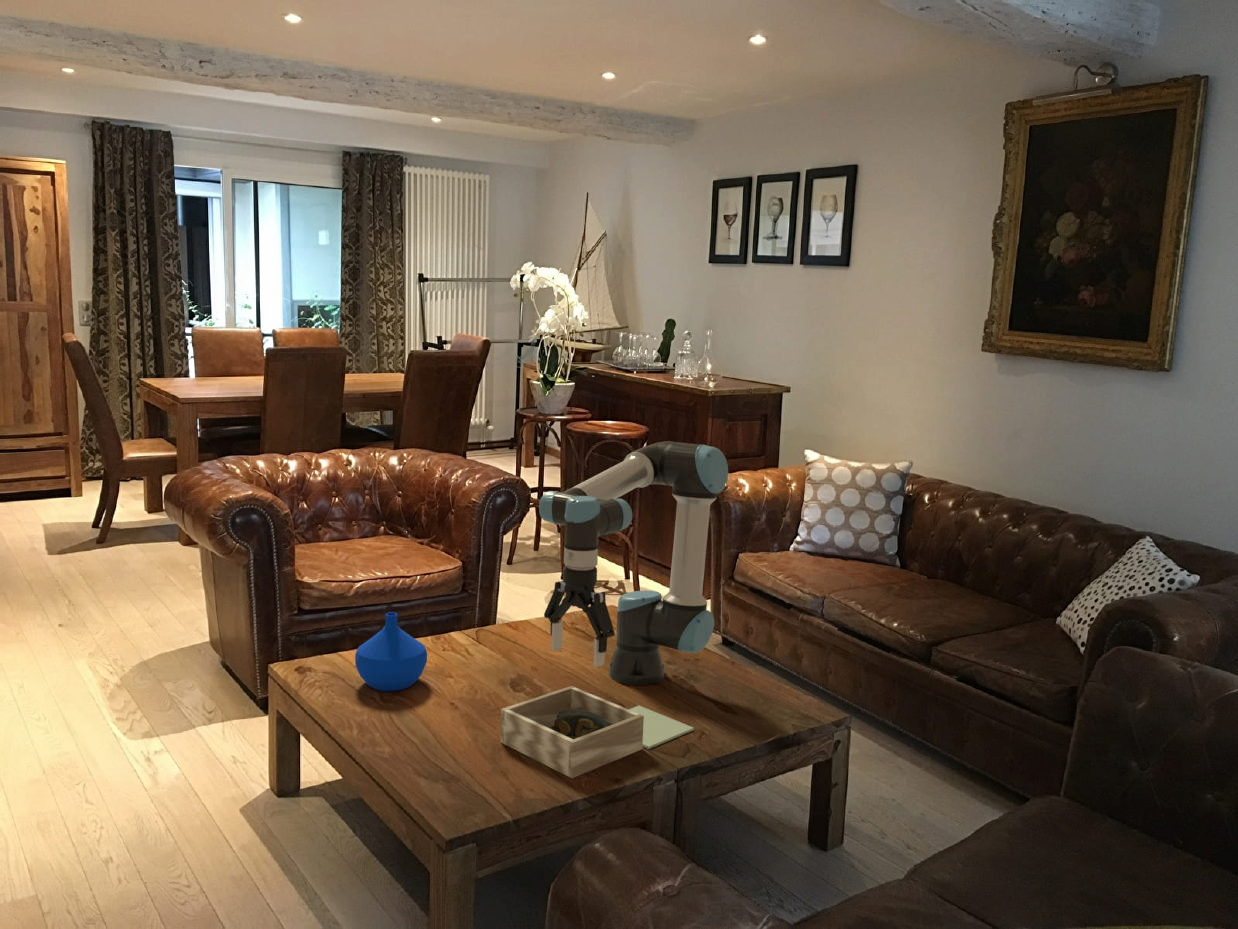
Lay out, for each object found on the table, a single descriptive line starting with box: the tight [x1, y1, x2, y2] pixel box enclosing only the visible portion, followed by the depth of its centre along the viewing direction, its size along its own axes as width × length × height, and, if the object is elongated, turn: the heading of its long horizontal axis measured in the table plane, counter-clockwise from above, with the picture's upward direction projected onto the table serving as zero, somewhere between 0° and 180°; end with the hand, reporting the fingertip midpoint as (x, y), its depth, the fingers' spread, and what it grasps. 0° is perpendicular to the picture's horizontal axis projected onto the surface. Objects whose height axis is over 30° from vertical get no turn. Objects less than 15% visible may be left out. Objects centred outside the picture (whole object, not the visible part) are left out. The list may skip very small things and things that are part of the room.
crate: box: [500, 685, 644, 779], centre depth 233 cm, size 24×22×8 cm
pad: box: [629, 705, 695, 750], centre depth 245 cm, size 18×16×1 cm
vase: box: [354, 611, 428, 692], centre depth 265 cm, size 18×18×19 cm
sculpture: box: [554, 710, 613, 740], centre depth 235 cm, size 13×6×7 cm, turn 83°
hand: (577, 657), depth 230 cm, fingers open, 13 cm apart
